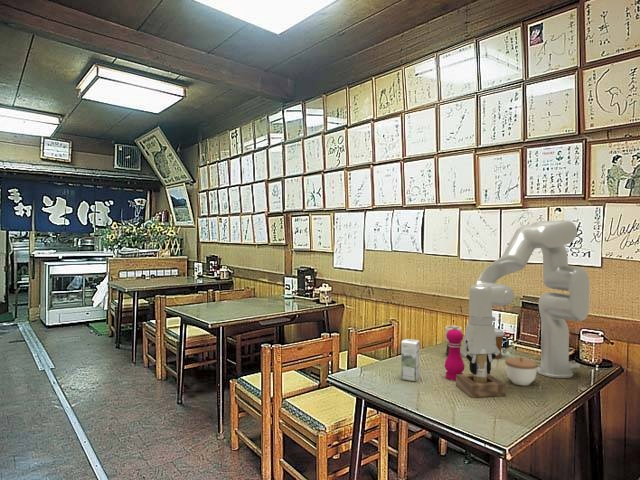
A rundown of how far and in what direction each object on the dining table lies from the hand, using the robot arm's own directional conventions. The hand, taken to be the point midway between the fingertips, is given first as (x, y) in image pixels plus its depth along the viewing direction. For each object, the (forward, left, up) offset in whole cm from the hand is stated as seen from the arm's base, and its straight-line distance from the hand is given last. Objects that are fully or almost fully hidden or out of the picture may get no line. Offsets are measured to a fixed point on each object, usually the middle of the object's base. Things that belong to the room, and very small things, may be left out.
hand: (480, 372), depth 153 cm
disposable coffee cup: (-26, -39, -7) cm, 47 cm away
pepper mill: (+3, -14, -7) cm, 16 cm away
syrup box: (+20, -15, -7) cm, 26 cm away
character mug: (-9, -42, -7) cm, 43 cm away
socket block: (0, 0, -6) cm, 6 cm away
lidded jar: (-19, -6, -7) cm, 21 cm away
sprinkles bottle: (0, 0, -5) cm, 5 cm away
